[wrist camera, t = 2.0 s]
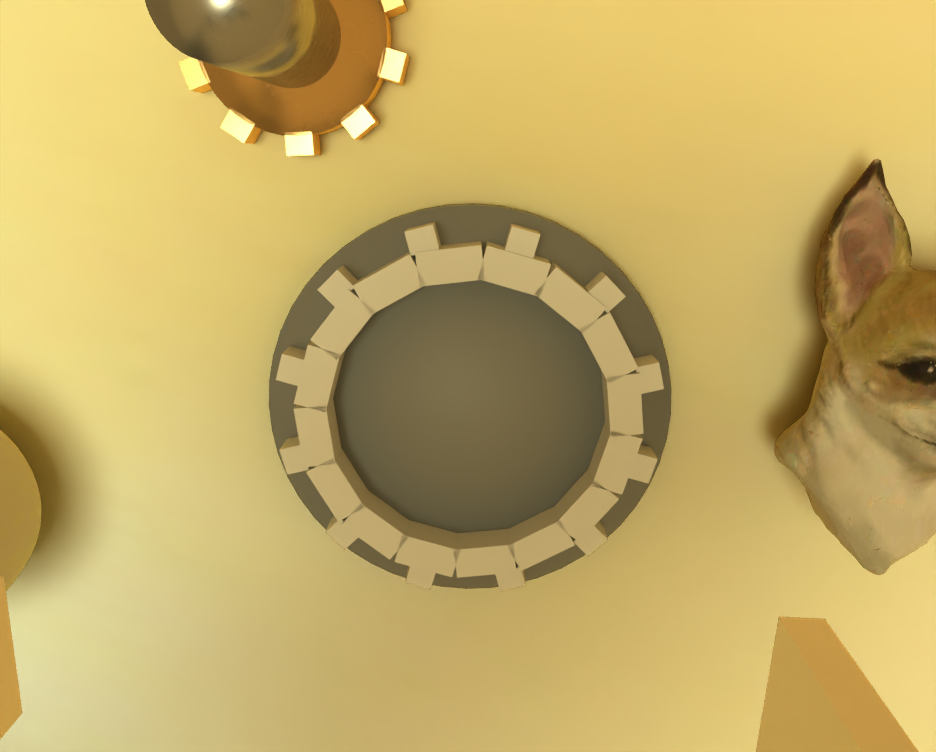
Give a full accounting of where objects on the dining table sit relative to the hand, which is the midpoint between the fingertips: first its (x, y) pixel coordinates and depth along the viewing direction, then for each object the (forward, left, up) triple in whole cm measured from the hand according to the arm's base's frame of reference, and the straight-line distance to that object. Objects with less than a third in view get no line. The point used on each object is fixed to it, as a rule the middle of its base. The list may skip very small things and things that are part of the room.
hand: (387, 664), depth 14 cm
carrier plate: (+2, -2, -23) cm, 23 cm away
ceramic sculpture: (+18, +5, -23) cm, 30 cm away
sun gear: (-9, +11, -23) cm, 27 cm away
